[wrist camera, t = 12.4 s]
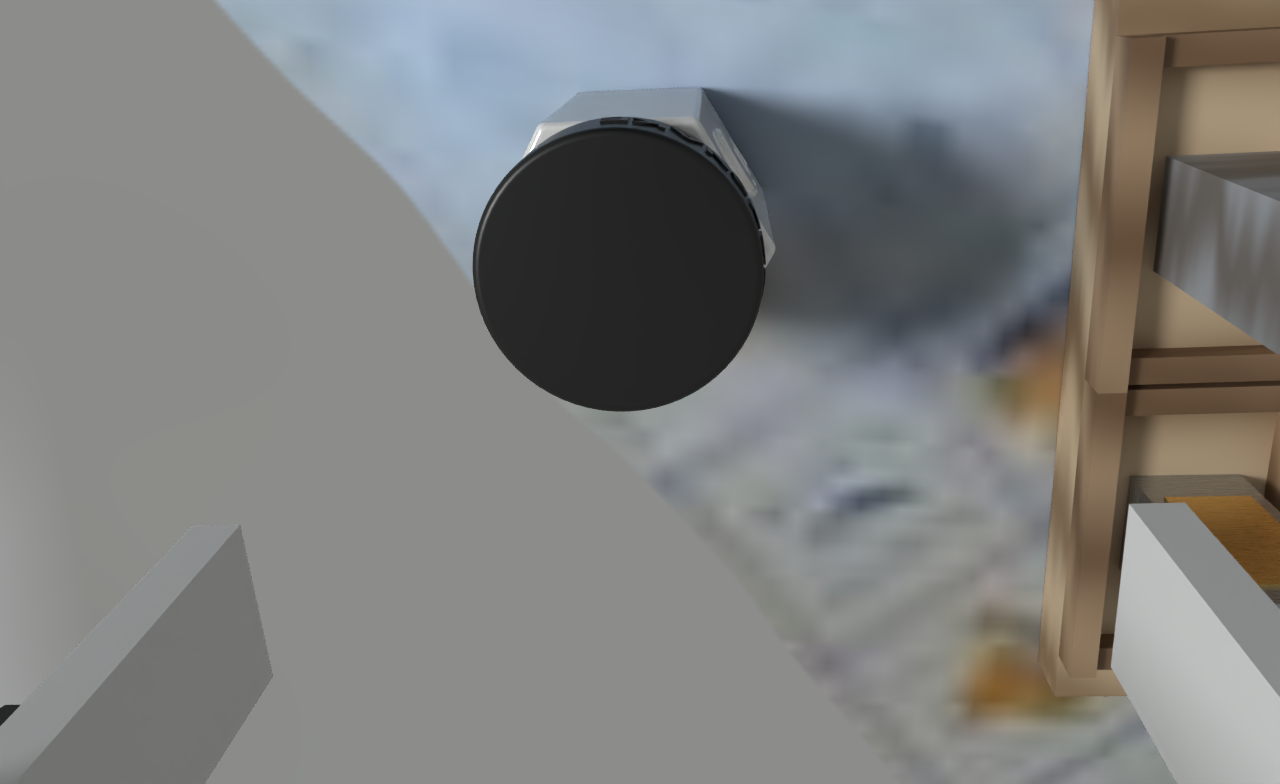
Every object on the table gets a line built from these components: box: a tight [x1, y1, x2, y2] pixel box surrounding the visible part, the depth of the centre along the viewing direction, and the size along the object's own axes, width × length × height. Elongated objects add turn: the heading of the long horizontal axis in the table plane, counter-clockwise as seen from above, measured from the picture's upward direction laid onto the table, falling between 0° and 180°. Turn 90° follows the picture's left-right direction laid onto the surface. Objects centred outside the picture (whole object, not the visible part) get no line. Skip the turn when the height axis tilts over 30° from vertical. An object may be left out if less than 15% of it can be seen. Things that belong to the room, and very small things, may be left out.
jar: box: [473, 87, 775, 411], centre depth 35 cm, size 9×8×12 cm
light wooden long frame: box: [1038, 0, 1280, 696], centre depth 36 cm, size 28×8×12 cm, turn 3°
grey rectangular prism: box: [1119, 474, 1280, 609], centre depth 37 cm, size 4×4×9 cm
